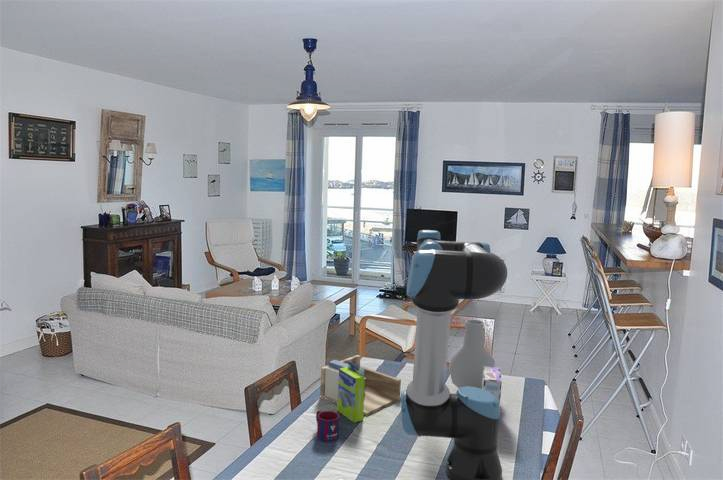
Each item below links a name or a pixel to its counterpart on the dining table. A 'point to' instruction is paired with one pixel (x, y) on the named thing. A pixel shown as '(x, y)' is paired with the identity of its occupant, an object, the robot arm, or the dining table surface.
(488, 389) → the candy box
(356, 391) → the box
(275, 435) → the dining table surface
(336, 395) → the shelved books
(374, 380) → the shelf
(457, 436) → the robot arm
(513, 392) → the dining table surface
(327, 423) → the mug
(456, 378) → the vase
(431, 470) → the dining table surface
